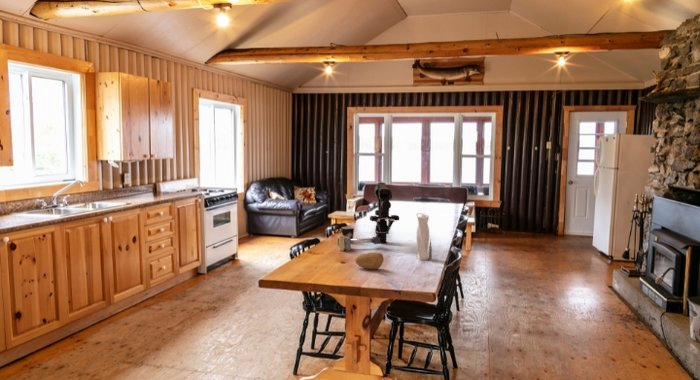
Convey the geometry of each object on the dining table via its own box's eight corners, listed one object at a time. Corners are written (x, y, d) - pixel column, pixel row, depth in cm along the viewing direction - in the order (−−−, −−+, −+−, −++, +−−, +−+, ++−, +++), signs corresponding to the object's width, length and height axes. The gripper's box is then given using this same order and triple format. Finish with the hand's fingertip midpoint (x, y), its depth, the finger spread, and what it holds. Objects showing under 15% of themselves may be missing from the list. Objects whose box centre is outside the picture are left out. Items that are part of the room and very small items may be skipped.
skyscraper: (419, 261, 272) (419, 214, 270) (413, 258, 280) (414, 212, 277) (432, 260, 275) (433, 213, 272) (426, 257, 282) (427, 211, 280)
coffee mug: (354, 240, 329) (354, 226, 328) (353, 243, 321) (353, 229, 320) (338, 240, 331) (338, 226, 330) (336, 242, 322) (336, 228, 321)
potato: (358, 265, 262) (358, 249, 261) (385, 268, 256) (385, 251, 255) (353, 269, 253) (353, 252, 253) (380, 272, 248) (381, 255, 247)
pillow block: (347, 247, 307) (347, 235, 306) (350, 250, 298) (350, 238, 298) (342, 247, 306) (343, 235, 306) (346, 250, 298) (346, 238, 297)
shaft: (378, 242, 309) (378, 236, 309) (380, 243, 305) (380, 237, 305) (345, 244, 304) (345, 238, 304) (346, 245, 300) (346, 239, 300)
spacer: (341, 248, 306) (341, 233, 305) (344, 250, 298) (344, 236, 297) (337, 248, 305) (337, 234, 304) (339, 251, 297) (339, 236, 296)
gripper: (394, 205, 316) (393, 228, 317) (367, 206, 311) (367, 229, 313) (399, 207, 305) (399, 231, 306) (372, 208, 301) (372, 232, 302)
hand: (384, 231), depth 307 cm, fingers open, 5 cm apart
